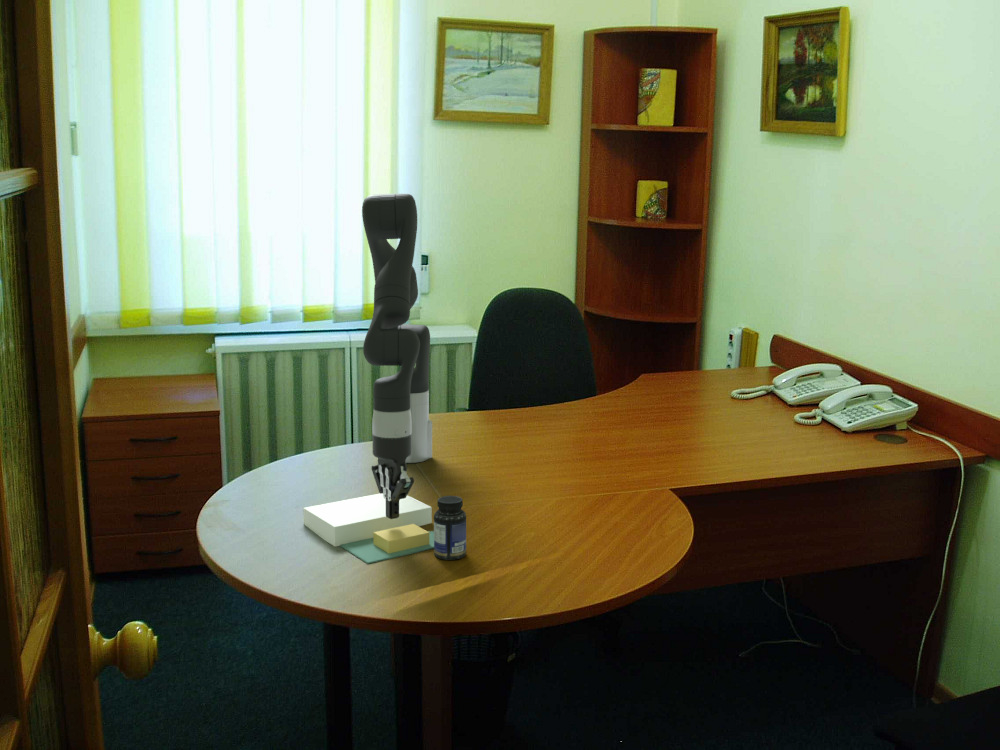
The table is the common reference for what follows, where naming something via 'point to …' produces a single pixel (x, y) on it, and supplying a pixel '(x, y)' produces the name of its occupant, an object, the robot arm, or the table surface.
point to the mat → (374, 554)
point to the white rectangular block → (362, 518)
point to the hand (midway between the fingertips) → (392, 517)
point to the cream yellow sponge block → (401, 538)
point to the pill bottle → (450, 529)
